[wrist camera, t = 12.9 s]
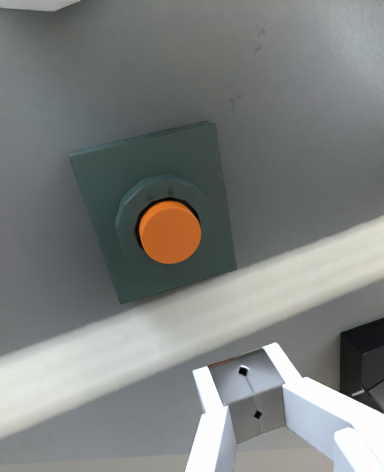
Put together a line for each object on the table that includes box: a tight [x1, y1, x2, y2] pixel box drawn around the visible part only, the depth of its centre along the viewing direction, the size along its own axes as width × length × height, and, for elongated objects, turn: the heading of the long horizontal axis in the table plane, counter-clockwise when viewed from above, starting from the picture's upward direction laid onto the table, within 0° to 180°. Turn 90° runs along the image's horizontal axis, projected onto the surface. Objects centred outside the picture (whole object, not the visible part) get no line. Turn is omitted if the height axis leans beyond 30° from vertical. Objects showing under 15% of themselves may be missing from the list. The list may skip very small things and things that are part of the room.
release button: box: [139, 200, 201, 264], centre depth 22 cm, size 4×4×2 cm
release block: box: [69, 121, 237, 304], centre depth 25 cm, size 12×10×4 cm
